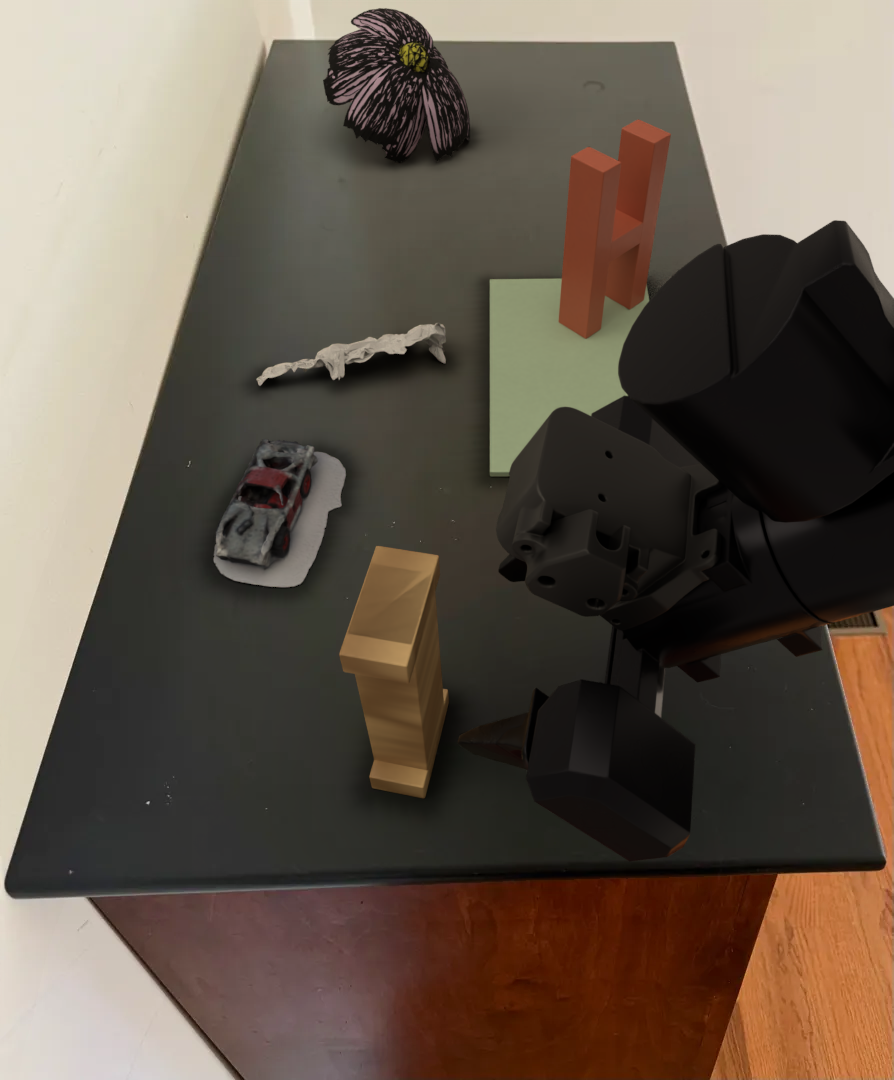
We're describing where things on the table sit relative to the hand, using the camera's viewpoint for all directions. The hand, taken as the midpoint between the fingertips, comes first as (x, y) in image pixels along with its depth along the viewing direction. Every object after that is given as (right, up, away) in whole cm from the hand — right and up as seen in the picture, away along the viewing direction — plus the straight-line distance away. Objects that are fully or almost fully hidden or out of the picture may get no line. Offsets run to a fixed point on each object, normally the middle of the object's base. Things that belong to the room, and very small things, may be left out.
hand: (486, 654), depth 41 cm
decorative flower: (-6, +46, +51) cm, 69 cm away
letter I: (-4, -6, +9) cm, 12 cm away
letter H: (+11, +24, +32) cm, 41 cm away
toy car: (-13, +7, +20) cm, 25 cm away
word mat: (+8, +18, +28) cm, 35 cm away
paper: (-9, +18, +29) cm, 36 cm away
